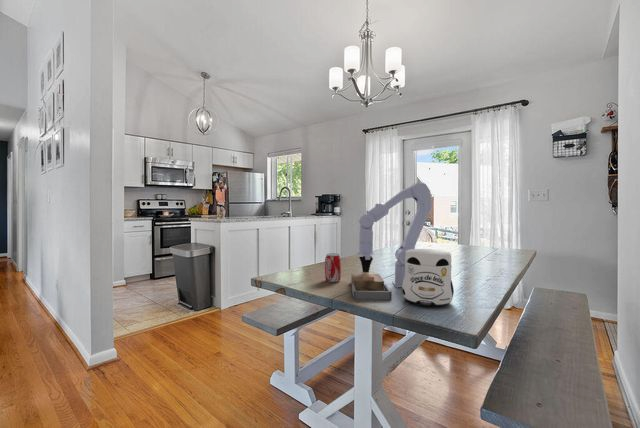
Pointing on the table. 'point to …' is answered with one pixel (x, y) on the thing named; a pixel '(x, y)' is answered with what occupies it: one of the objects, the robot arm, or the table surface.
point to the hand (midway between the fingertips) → (365, 273)
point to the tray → (372, 294)
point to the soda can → (332, 267)
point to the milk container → (428, 277)
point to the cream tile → (365, 273)
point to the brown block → (367, 283)
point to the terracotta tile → (368, 277)
